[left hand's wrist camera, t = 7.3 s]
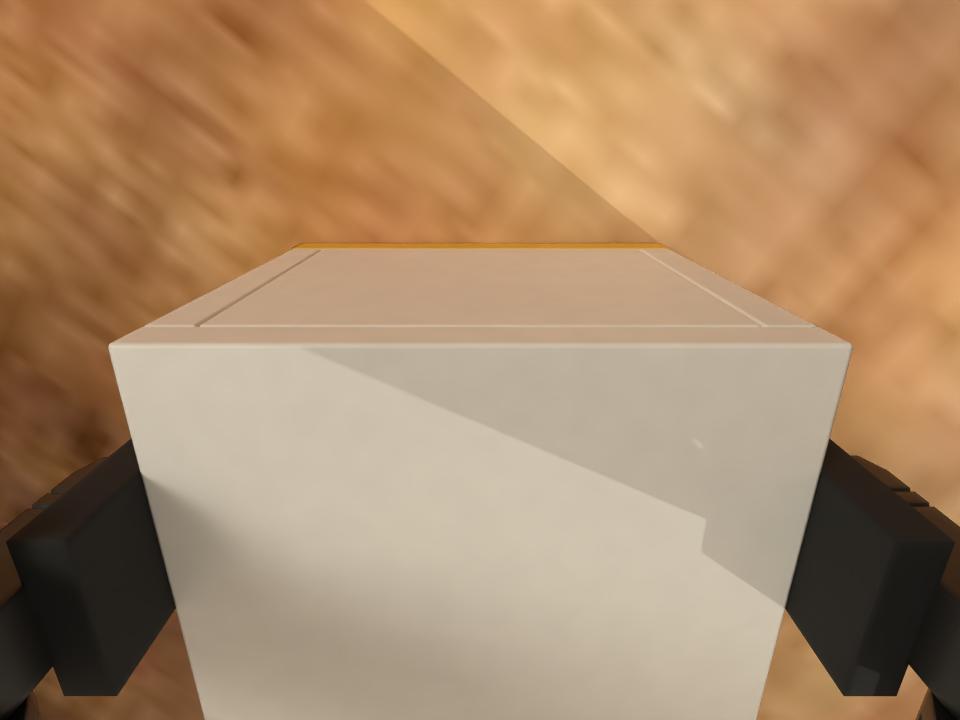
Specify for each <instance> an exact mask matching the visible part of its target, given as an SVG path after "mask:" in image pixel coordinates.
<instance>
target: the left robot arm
mask: <svg viewBox="0 0 960 720" xmlns="http://www.w3.org/2000/svg"><path fill="white" fill-rule="evenodd" d="M51 491H52V492H51V494H46V495H45V496H43V497H42V498H41V499H39V500H38V501H37V502H36V503H34V504H33V507H32V509H27V510H25V511H24V512H23V513H22V514H20V515H19V516H18V517H17V518H15V519H14V520H13V521H11V522H10V523H9V524H8V525H6V526H5V527H4V528H3V529H1V530H0V720H38V717H39V710H38V704H37V700H36V698H35V695H34V693H33V689H34V688H35V687H36V686H37V685H38V683H39V682H40V681H41V680H42V679H43V677H44V676H45V675H46V674H47V673H48V671H49V670H50V669H51V668H52V667H53V668H54V670H55V673H56V675H57V678H58V681H59V683H60V686H61V689H62V691H63V694H64V696H117V695H118V694H119V692H120V691H121V689H122V688H123V686H124V685H125V683H126V682H127V680H128V679H129V677H130V676H131V674H132V673H133V671H134V670H135V668H136V667H137V665H138V664H139V662H140V661H141V659H142V658H143V656H144V655H145V653H146V652H147V650H148V649H149V647H150V646H151V644H152V643H153V641H154V640H155V638H156V637H157V635H158V634H159V632H160V631H161V629H162V628H163V626H164V625H165V623H166V622H167V620H168V619H169V617H170V616H171V614H172V613H173V611H174V610H175V608H176V607H175V603H174V599H173V595H172V592H171V588H170V584H169V580H168V576H167V572H166V568H165V565H164V561H163V557H162V553H161V549H160V545H159V542H158V538H157V534H156V530H155V526H154V522H153V518H152V515H151V511H150V507H149V503H148V499H147V495H146V492H145V488H144V484H143V480H142V476H141V472H140V468H139V465H138V461H137V457H136V453H135V449H134V445H133V441H132V438H131V439H130V440H129V441H128V442H127V443H125V444H124V445H123V446H122V447H120V448H119V449H118V450H117V451H116V452H114V453H113V454H112V455H111V456H109V457H104V458H102V459H100V460H98V461H96V462H94V463H92V464H90V465H88V466H86V467H84V468H82V469H80V470H78V471H76V472H74V473H72V474H71V475H70V476H69V477H67V478H66V479H65V480H64V481H62V482H61V483H60V484H58V485H57V486H56V487H55V488H53V489H52V490H51ZM785 609H786V610H787V612H788V613H789V615H790V616H791V618H792V619H793V621H794V622H795V624H796V625H797V627H798V628H799V630H800V631H801V633H802V634H803V636H804V637H805V639H806V640H807V642H808V643H809V645H810V646H811V648H812V649H813V651H814V652H815V654H816V655H817V657H818V658H819V660H820V661H821V663H822V664H823V666H824V667H825V669H826V670H827V672H828V673H829V675H830V676H831V678H832V679H833V681H834V682H835V684H836V685H837V687H838V688H839V690H840V691H841V693H842V694H843V696H897V693H898V691H899V688H900V685H901V683H902V680H903V678H904V675H905V672H906V670H907V667H908V664H909V665H910V666H911V667H912V669H913V670H914V671H915V672H916V673H917V675H918V676H919V677H920V678H921V679H922V681H923V682H924V683H925V684H926V685H927V687H928V690H927V693H926V695H925V698H924V700H923V702H922V705H921V707H920V710H919V712H918V715H917V717H916V720H960V527H959V526H958V525H957V524H955V523H954V522H953V521H952V520H950V519H949V518H948V517H946V516H945V515H944V514H943V513H941V512H940V511H939V510H937V509H936V508H935V507H930V506H929V503H928V502H927V501H926V500H925V499H923V498H922V497H921V496H919V495H918V494H917V493H916V492H911V491H910V488H909V487H908V486H907V485H905V484H904V483H903V482H902V481H900V480H899V479H898V478H896V477H895V476H894V475H893V474H891V473H890V472H889V471H887V470H885V469H883V468H881V467H879V466H877V465H875V464H873V463H871V462H869V461H867V460H865V459H863V458H861V457H859V456H850V455H849V454H848V453H846V452H845V451H844V450H843V449H841V448H840V447H839V446H838V445H837V444H835V443H834V442H833V441H832V440H830V439H829V442H828V446H827V449H826V453H825V457H824V461H823V465H822V469H821V472H820V476H819V480H818V484H817V488H816V492H815V495H814V499H813V503H812V507H811V511H810V515H809V518H808V522H807V526H806V530H805V534H804V538H803V541H802V545H801V549H800V553H799V557H798V561H797V565H796V568H795V572H794V576H793V580H792V584H791V588H790V591H789V595H788V599H787V603H786V607H785Z"/></svg>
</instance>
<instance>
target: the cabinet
mask: <svg viewBox="0 0 960 720" xmlns="http://www.w3.org/2000/svg"><path fill="white" fill-rule="evenodd" d="M108 349H109V353H110V357H111V361H112V364H113V368H114V372H115V376H116V380H117V384H118V388H119V391H120V395H121V399H122V403H123V407H124V411H125V415H126V418H127V422H128V426H129V430H130V434H131V438H132V441H133V445H134V449H135V453H136V457H137V461H138V465H139V468H140V472H141V476H142V480H143V484H144V488H145V492H146V495H147V499H148V503H149V507H150V511H151V515H152V518H153V522H154V526H155V530H156V534H157V538H158V542H159V545H160V549H161V553H162V557H163V561H164V565H165V568H166V572H167V576H168V580H169V584H170V588H171V592H172V595H173V599H174V603H175V607H176V611H177V615H178V619H179V622H180V626H181V630H182V634H183V638H184V642H185V645H186V649H187V653H188V657H189V661H190V665H191V669H192V672H193V676H194V680H195V684H196V688H197V692H198V695H199V699H200V703H201V707H202V711H203V715H204V719H205V720H756V718H757V714H758V710H759V707H760V703H761V699H762V695H763V691H764V687H765V684H766V680H767V676H768V672H769V668H770V664H771V660H772V657H773V653H774V649H775V645H776V641H777V637H778V634H779V630H780V626H781V622H782V618H783V614H784V611H785V607H786V603H787V599H788V595H789V591H790V588H791V584H792V580H793V576H794V572H795V568H796V565H797V561H798V557H799V553H800V549H801V545H802V541H803V538H804V534H805V530H806V526H807V522H808V518H809V515H810V511H811V507H812V503H813V499H814V495H815V492H816V488H817V484H818V480H819V476H820V472H821V469H822V465H823V461H824V457H825V453H826V449H827V446H828V442H829V438H830V434H831V430H832V426H833V422H834V419H835V415H836V411H837V407H838V403H839V399H840V396H841V392H842V388H843V384H844V380H845V376H846V373H847V369H848V365H849V361H850V357H851V353H852V350H853V347H852V344H851V343H849V342H847V341H845V340H843V339H841V338H839V337H837V336H835V335H833V334H831V333H829V332H828V331H826V330H824V329H822V328H819V327H817V326H816V325H814V324H812V323H810V322H808V321H806V320H804V319H802V318H800V317H799V316H797V315H795V314H793V313H791V312H789V311H787V310H785V309H783V308H781V307H779V306H777V305H775V304H773V303H771V302H769V301H768V300H766V299H764V298H762V297H760V296H758V295H756V294H754V293H752V292H750V291H748V290H746V289H744V288H742V287H740V286H739V285H737V284H735V283H733V282H731V281H729V280H727V279H725V278H723V277H721V276H719V275H717V274H715V273H713V272H711V271H710V270H708V269H706V268H704V267H702V266H700V265H698V264H696V263H694V262H692V261H690V260H688V259H686V258H684V257H682V256H681V255H679V254H677V253H675V252H673V251H671V250H669V248H668V247H666V246H664V245H662V244H660V243H301V244H299V245H297V246H295V247H293V248H292V250H290V251H288V252H286V253H284V254H282V255H280V256H278V257H276V258H275V259H273V260H271V261H269V262H267V263H265V264H263V265H261V266H259V267H257V268H255V269H253V270H251V271H249V272H247V273H245V274H244V275H242V276H240V277H238V278H236V279H234V280H232V281H230V282H228V283H226V284H224V285H222V286H220V287H218V288H216V289H214V290H213V291H211V292H209V293H207V294H205V295H203V296H201V297H199V298H197V299H195V300H193V301H191V302H189V303H187V304H185V305H184V306H182V307H180V308H178V309H176V310H174V311H172V312H170V313H168V314H166V315H164V316H162V317H160V318H158V319H156V320H154V321H153V322H151V323H149V324H147V325H145V326H144V327H141V328H139V329H137V330H135V331H133V332H131V333H129V334H127V335H125V336H124V337H122V338H120V339H118V340H116V341H114V342H112V343H110V344H109V347H108Z"/></svg>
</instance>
